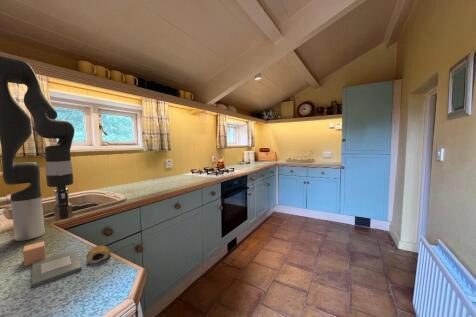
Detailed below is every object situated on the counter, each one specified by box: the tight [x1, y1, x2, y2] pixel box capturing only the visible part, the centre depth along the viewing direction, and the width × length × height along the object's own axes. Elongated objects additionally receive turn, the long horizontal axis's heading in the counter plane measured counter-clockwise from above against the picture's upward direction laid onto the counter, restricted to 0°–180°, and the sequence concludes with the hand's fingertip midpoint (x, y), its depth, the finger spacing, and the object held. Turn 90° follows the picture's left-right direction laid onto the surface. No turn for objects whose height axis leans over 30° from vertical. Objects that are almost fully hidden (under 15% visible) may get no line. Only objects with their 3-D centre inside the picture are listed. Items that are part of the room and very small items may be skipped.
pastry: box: [86, 245, 111, 265], centre depth 70 cm, size 9×7×4 cm
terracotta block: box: [22, 240, 47, 266], centre depth 69 cm, size 5×5×5 cm
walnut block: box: [52, 202, 74, 222], centre depth 76 cm, size 5×5×5 cm
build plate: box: [30, 249, 82, 289], centre depth 64 cm, size 16×11×1 cm
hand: (63, 216), depth 76 cm, fingers closed on walnut block, 5 cm apart
